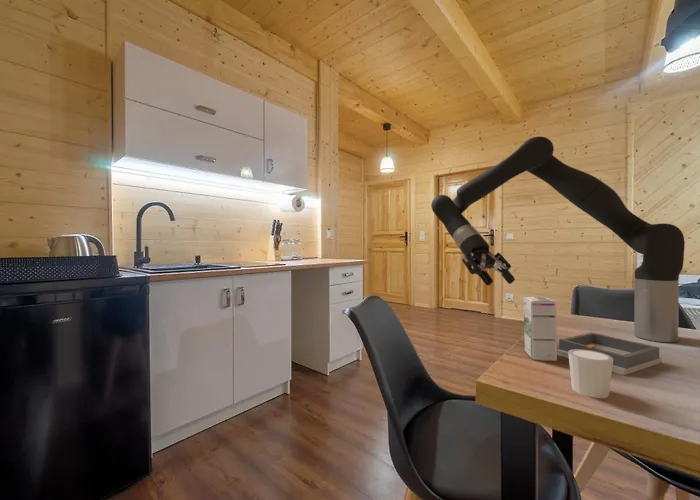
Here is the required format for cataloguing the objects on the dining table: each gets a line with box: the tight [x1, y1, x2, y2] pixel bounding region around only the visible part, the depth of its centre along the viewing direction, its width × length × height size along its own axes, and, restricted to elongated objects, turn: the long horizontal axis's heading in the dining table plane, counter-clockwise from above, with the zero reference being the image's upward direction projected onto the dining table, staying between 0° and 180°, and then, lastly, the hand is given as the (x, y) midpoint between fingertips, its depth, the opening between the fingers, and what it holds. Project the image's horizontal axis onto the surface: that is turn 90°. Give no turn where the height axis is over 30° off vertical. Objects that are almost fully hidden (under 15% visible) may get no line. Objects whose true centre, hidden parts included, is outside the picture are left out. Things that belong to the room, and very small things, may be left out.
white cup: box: [568, 349, 613, 399], centre depth 60 cm, size 7×7×7 cm
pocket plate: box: [557, 332, 662, 376], centre depth 76 cm, size 16×14×4 cm
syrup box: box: [523, 296, 558, 362], centre depth 78 cm, size 6×6×14 cm
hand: (501, 282), depth 88 cm, fingers open, 8 cm apart
